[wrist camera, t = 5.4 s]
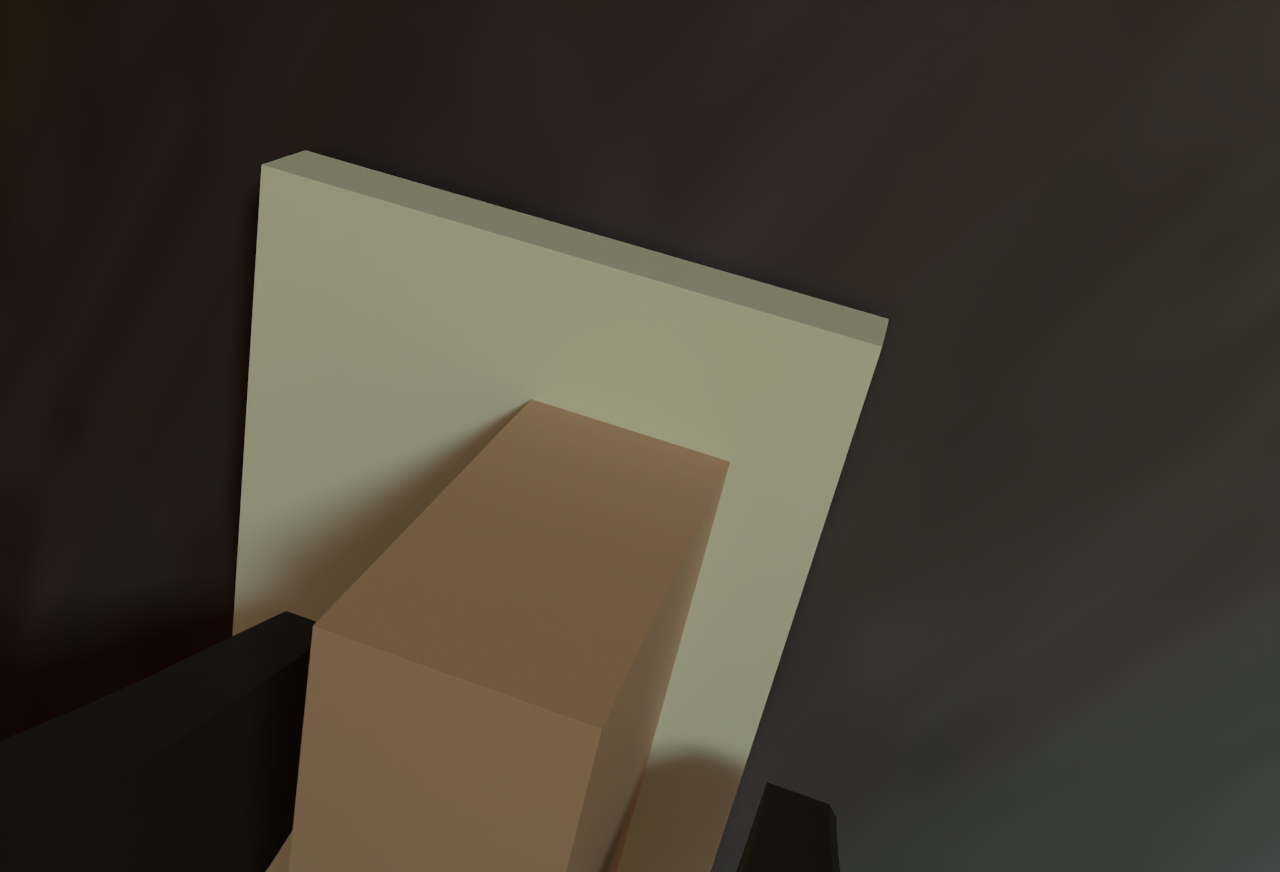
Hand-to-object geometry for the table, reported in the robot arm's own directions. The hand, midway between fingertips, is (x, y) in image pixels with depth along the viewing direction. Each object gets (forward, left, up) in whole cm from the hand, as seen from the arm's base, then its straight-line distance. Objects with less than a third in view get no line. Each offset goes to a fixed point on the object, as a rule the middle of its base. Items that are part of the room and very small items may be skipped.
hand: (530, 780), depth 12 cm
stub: (0, +1, -2) cm, 2 cm away
